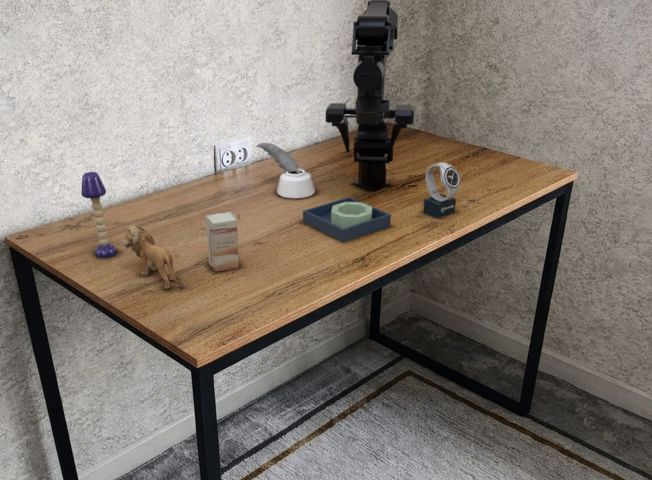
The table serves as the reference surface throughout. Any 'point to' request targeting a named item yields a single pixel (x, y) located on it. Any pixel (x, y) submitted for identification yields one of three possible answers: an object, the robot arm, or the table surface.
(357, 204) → the ring
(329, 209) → the tray
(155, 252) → the lion figurine
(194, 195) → the table surface
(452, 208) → the watch
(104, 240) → the toy lamp
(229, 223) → the small carton box
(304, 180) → the inkwell
